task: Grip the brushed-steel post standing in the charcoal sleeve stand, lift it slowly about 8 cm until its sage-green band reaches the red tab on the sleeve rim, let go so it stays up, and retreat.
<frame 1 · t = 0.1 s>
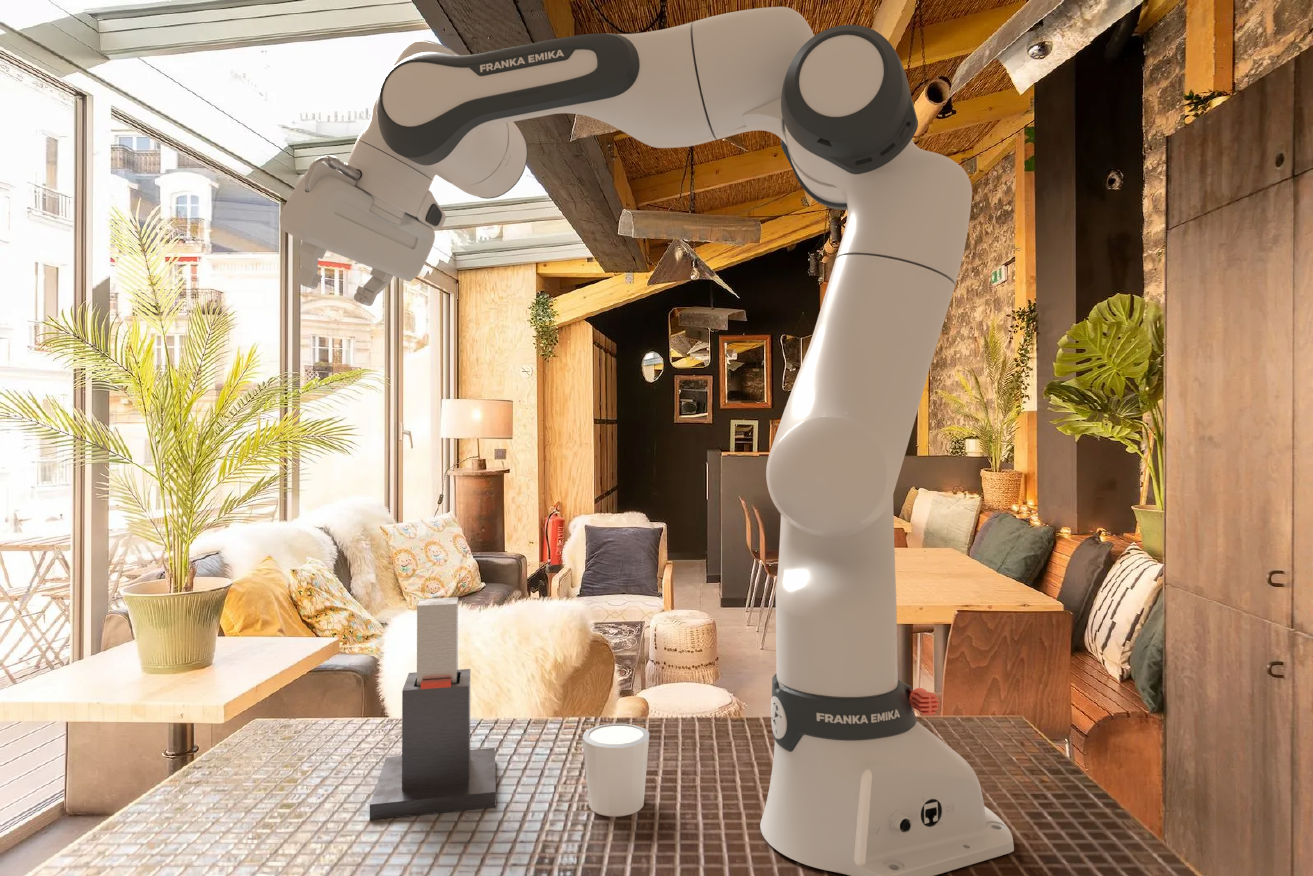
hand: (335, 294, 87), 54 cm above the table, tool tilted 30°, fingers open, 8 cm apart
sleeve stand: (437, 787, 80), on the table
steel post: (438, 685, 81), point 11 cm above the table, slide at 0.0 cm
white tapered cup: (616, 805, 76), on the table
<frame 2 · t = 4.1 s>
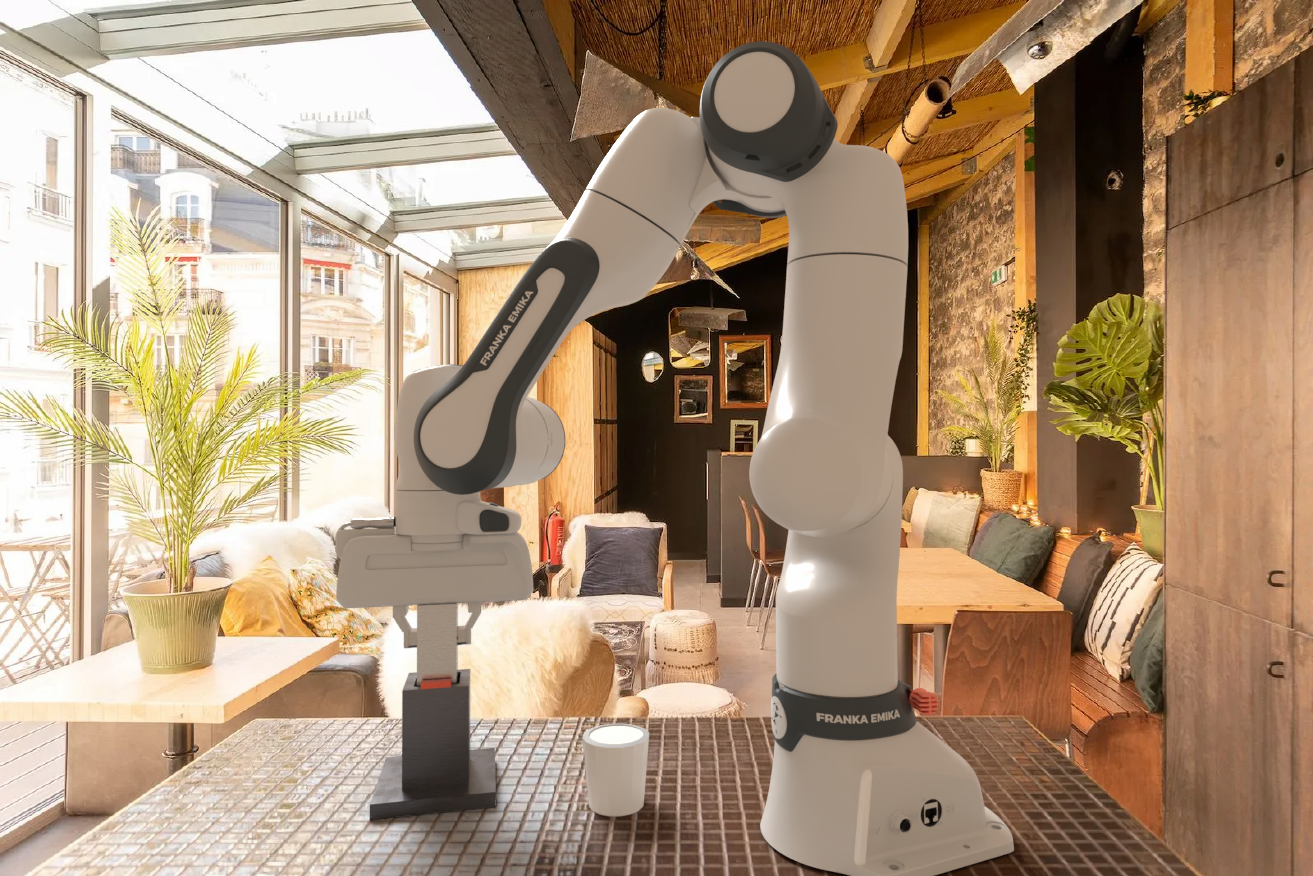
hand: (438, 645, 81), 15 cm above the table, tool pointing down, fingers closed on steel post, 4 cm apart
steel post: (438, 685, 81), point 11 cm above the table, slide at 0.0 cm, touching gripper
everything else where it was.
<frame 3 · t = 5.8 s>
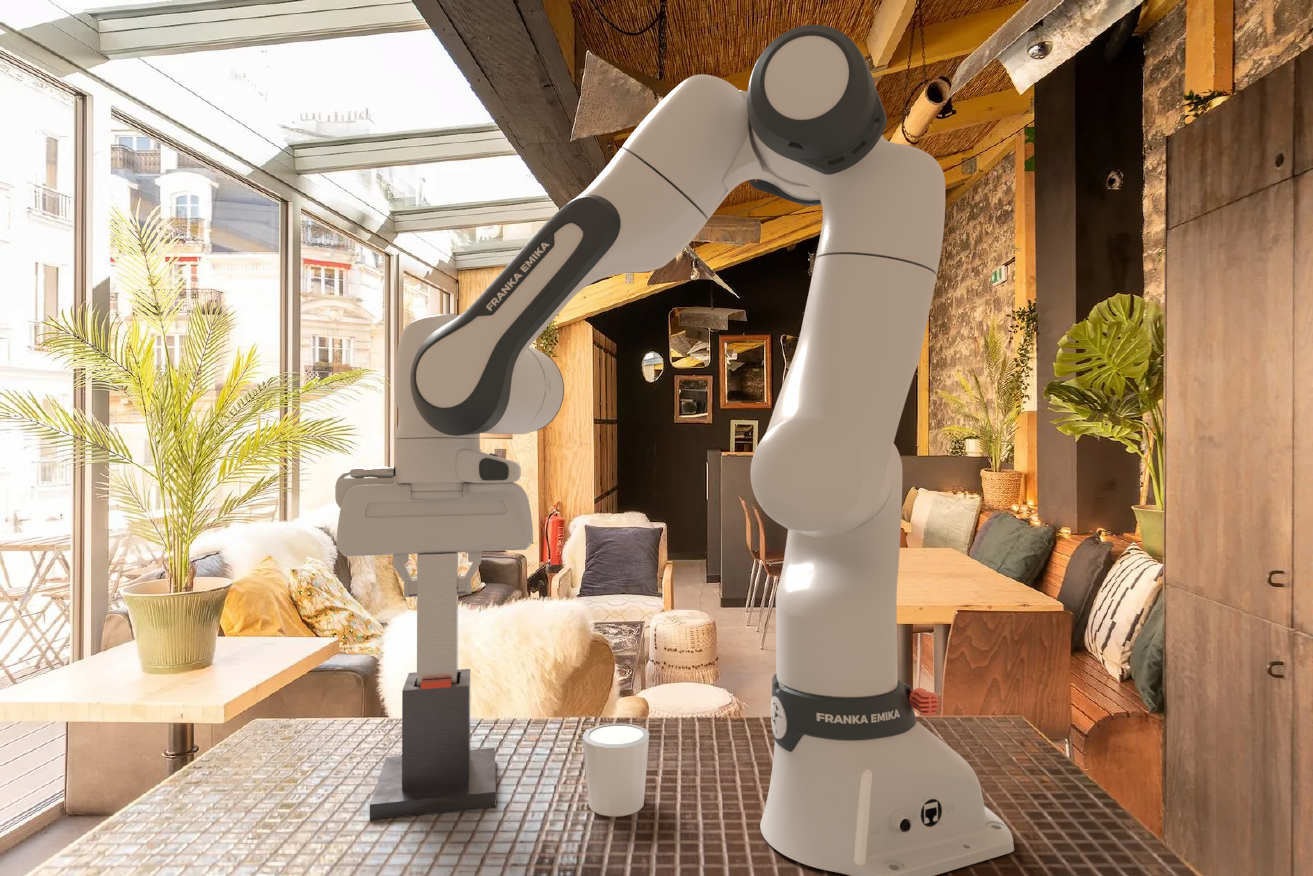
hand: (438, 595, 81), 20 cm above the table, tool pointing down, fingers closed on steel post, 4 cm apart
steel post: (438, 635, 81), point 16 cm above the table, slide at 5.3 cm, touching gripper
everything else where it was.
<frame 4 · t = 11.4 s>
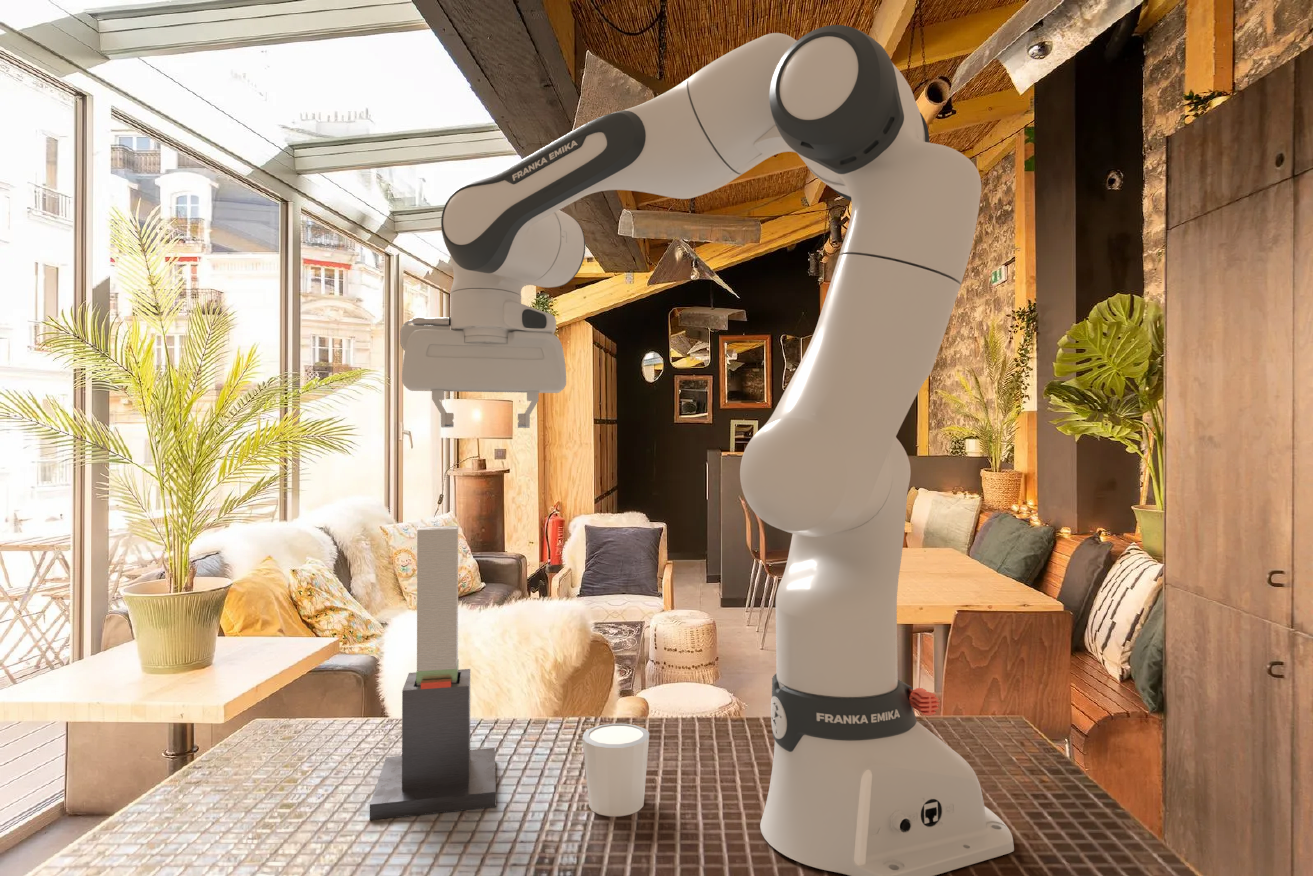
hand: (485, 427, 95), 39 cm above the table, tool pointing down, fingers open, 8 cm apart
steel post: (438, 611, 81), point 19 cm above the table, slide at 7.9 cm
everything else where it was.
at the end: steel post slide at 7.9 cm; the gripper is holding nothing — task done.
